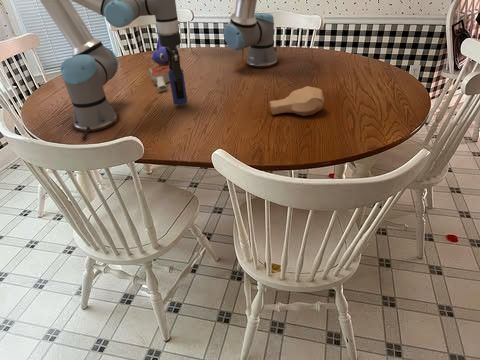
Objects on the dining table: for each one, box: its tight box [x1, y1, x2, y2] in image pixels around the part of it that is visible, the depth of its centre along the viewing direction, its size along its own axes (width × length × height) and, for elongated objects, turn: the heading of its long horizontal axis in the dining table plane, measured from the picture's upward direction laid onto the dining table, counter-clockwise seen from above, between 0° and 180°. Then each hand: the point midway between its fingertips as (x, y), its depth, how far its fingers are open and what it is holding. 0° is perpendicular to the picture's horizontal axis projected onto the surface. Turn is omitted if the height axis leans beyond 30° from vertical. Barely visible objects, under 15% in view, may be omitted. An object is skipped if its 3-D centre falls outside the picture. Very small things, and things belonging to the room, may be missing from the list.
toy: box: [150, 31, 178, 67], centre depth 182 cm, size 10×17×25 cm
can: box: [168, 68, 188, 106], centre depth 136 cm, size 6×6×12 cm
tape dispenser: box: [148, 65, 170, 93], centre depth 162 cm, size 18×5×20 cm
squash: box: [268, 85, 325, 117], centre depth 129 cm, size 11×20×9 cm, turn 92°
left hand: (179, 95), depth 138 cm, fingers open, 5 cm apart
